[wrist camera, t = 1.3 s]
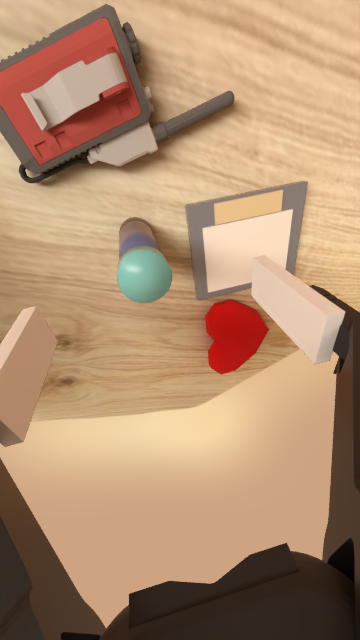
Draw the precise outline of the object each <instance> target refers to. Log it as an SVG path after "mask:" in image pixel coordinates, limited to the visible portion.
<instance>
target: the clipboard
mask: <svg viewBox="0 0 360 640" xmlns="http://www.w3.org/2000/svg"><path fill="white" fill-rule="evenodd" d="M307 183H308V182H307V181H301V182H296V183H291V184H286V185H281V186H276V187H271V188H266V189H261V190H256V191H251V192H246V193H241V194H236V195H231V196H227V197H222V198H217V199H212V200H207V201H202V202H197V203H192V204H187V205H185V208H186V216H187V224H188V233H189V241H190V249H191V258H192V266H193V274H194V282H195V291H196V298H197V300H198V301H199V300H203V299H207V298H212V297H216V296H220V295H224V294H228V293H232V292H237V291H241V290H245V289H249V288H252V264H253V257H258V256H262V255H265V256H267V257H268V258H269V259H271V260H272V261H274V262H275V263H277V264H278V265H279V266H281V267H282V268H284V269H285V270H287V271H288V272H289V273H291V274H292V275H294V269H295V262H296V255H297V249H298V242H299V236H300V229H301V222H302V216H303V209H304V202H305V196H306V189H307Z"/></svg>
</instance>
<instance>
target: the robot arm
mask: <svg viewBox="0 0 360 640" xmlns="http://www.w3.org/2000/svg"><path fill="white" fill-rule="evenodd" d="M251 296H252V297H253V298H254V299H255V300H256V302H257V303H258V304H259V305H260V306H261V307H262V308H263V309H264V310H265V311H266V312H267V313H268V315H269V316H270V317H271V318H272V319H273V320H274V321H275V322H276V323H277V324H278V325H279V327H280V328H281V329H282V330H283V331H284V332H285V333H286V334H287V335H288V336H289V337H290V338H291V340H292V341H293V342H294V343H295V344H296V345H297V346H298V347H299V348H300V349H301V350H302V351H303V352H304V354H305V355H306V356H307V357H308V358H309V359H310V360H311V361H312V362H313V363H314V365H315V364H319V363H322V362H326V361H330V359H331V355H332V352H333V351H334V352H335V353H337V355H338V356H339V359H338V362H337V365H336V367H335V370H334V374H336V373H337V377H336V396H335V414H334V431H333V450H332V467H331V487H330V503H329V519H328V525H327V529H326V533H325V538H324V547H323V559H322V560H320V559H318V558H315V557H313V556H310V555H307V554H304V553H299V552H293V551H290V549H289V547H288V545H287V543H285V544H282V545H279V546H276V547H273V548H270V549H267V550H264V551H260V552H257V553H255V554H251V555H249V556H248V557H247V558H245V559H244V560H243V561H241V562H240V563H239V564H238V565H236V566H235V567H234V568H233V569H232V570H230V571H229V572H228V573H227V574H225V575H224V576H223V577H222V578H220V579H219V580H218V581H216V582H215V583H212V584H206V583H191V582H176V581H168V582H165V583H162V584H159V585H155V586H152V587H149V588H146V589H143V590H140V591H137V592H134V593H131V594H129V605H128V606H127V607H126V608H124V609H123V610H122V611H121V612H120V613H119V614H118V615H117V616H116V618H115V619H114V620H113V621H112V622H111V624H110V625H109V626H108V627H107V629H106V628H105V626H104V625H103V623H102V621H101V620H100V618H99V617H98V616H97V614H96V613H95V612H94V611H93V609H91V607H89V605H88V604H87V603H85V602H84V600H83V599H82V597H81V596H80V594H79V593H78V591H77V589H76V587H75V586H74V584H73V582H72V581H71V579H70V577H69V575H68V574H67V572H66V570H65V569H64V567H63V565H62V563H61V562H60V560H59V558H58V557H57V555H56V553H55V551H54V550H53V548H52V546H51V544H50V543H49V541H48V539H47V538H46V536H45V534H44V533H43V531H42V529H41V527H40V526H39V524H38V522H37V521H36V519H35V517H34V515H33V514H32V512H31V510H30V508H29V507H28V505H27V503H26V501H25V500H24V498H23V496H22V495H21V493H20V491H19V489H18V488H17V486H16V485H15V483H14V481H13V479H12V477H11V476H10V474H9V473H8V471H7V469H6V467H5V466H4V464H3V462H2V460H1V459H0V640H360V313H359V312H358V311H356V310H355V309H353V308H352V307H350V306H349V305H347V304H346V303H344V302H343V301H341V300H340V299H337V297H335V296H334V295H331V293H329V292H328V291H326V290H325V289H323V288H320V287H317V286H314V285H312V286H308V285H307V284H305V283H304V282H302V281H301V280H299V279H298V278H297V277H295V276H294V275H292V274H291V273H289V272H288V271H287V270H285V269H284V268H282V267H281V266H279V265H278V264H277V263H275V262H274V261H272V260H271V259H269V258H268V257H267V256H265V255H262V256H258V257H253V264H252V292H251ZM57 343H58V341H57V339H56V338H55V336H54V334H53V333H52V331H51V329H50V328H49V326H48V324H47V323H46V321H45V319H44V318H43V316H42V314H41V313H40V311H39V309H38V308H37V306H34V307H30V308H25V309H23V310H22V311H21V313H20V314H19V316H18V318H17V319H16V321H15V322H14V324H13V325H12V327H11V329H10V330H9V332H8V333H7V335H6V336H5V338H4V339H3V341H2V343H1V344H0V443H1V444H2V445H3V446H5V447H6V446H10V445H13V444H17V443H21V442H24V439H25V436H26V433H27V430H28V428H29V425H30V422H31V419H32V416H33V413H34V410H35V407H36V404H37V401H38V398H39V395H40V393H41V390H42V387H43V384H44V381H45V378H46V375H47V372H48V369H49V366H50V363H51V360H52V357H53V355H54V352H55V349H56V346H57Z"/></svg>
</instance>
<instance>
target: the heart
mask: <svg viewBox="0 0 360 640" xmlns="http://www.w3.org/2000/svg"><path fill="white" fill-rule="evenodd" d="M205 317H206V329H207V333H208V335H209V336H210V337H211V338H212V339H214V342H213V344H212V345H211V347H210V349H209V350H208V358H209V365H210V367H211V368H212V369H214V370H215V371H217V372H218V373H220V374H225V373H228V372H231V371H235V370H236V369H238V368H239V367H240V366H241V365H242V364H243V363H244V362H246V361H247V360H248V359H249V358H250V357H251V356H252V355H254V354H255V353H256V351H257V350H258V348H259V346H260V344H261V343H262V341H263V339H264V337H265V336H266V334H267V332H268V330H269V329H268V328H267V326H266V325H265V323H264V322H263V320H262V318H261V317H260V315H259V314H258V312H257V311H256V310H254V309H252V308H250V307H247V306H245V305H242V304H240V303H238V302H235V301H233V300H226V301H222V302H218V303H214V305H213V306H212V307H211V309H210V310H209V312H208V313H207V315H206V316H205Z"/></svg>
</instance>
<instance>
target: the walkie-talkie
mask: <svg viewBox="0 0 360 640" xmlns="http://www.w3.org/2000/svg"><path fill="white" fill-rule="evenodd" d="M140 59H141V58H140V52H139V48H138V44H137V40H136V37H135V35H134V32H133V29H132V27H131V25H130V24H129V23H128V22H126V23H125V24H123V28H122V27H121V24H120V21H119V18H118V16H117V14H116V11H115V9H114V7H111V6H109V5H107V4H105V5H103V6H102V7H100V8H98V9H96V10H94V11H92V12H90V13H88V14H87V15H85V16H83V17H81V18H79V19H77V20H75V21H73V22H71V23H69V24H67V25H66V26H64V27H62V28H60V29H58V30H56V31H55V32H53V33H51V34H50V36H49V37H47V38H45V37H43V40H42V41H40V42H38V41H36V44H34V45H31V44H30V45H29V48H27V49H24V48H23V49H22V51H21V52H19V53H17V52H15V55H14V56H12V57H11V56H8V59H6V60H3V59H2V60H1V62H0V132H1V133H2V135H3V136H4V138H5V139H6V141H7V142H8V144H9V145H10V147H11V148H12V150H13V151H14V152H15V154H16V155H17V157H18V158H19V160H20V161H21V163H22V164H21V165H20V167H19V172H20V175H21V177H22V178H23V179H24V180H25V181H26V182H28V183H37V182H40V181H42V180H44V179H46V178H48V177H50V176H52V175H54V174H56V173H58V172H60V171H62V170H64V169H66V168H68V167H70V166H72V165H74V164H77V163H83V164H85V163H89V162H90V164H93V163H95V162H97V161H102V162H105V163H109V164H112V165H115V166H119V167H120V166H122V165H124V164H126V163H129V162H131V161H133V160H135V159H137V158H139V157H141V156H143V155H145V154H147V153H149V154H152V153H154V152H156V151H158V147H157V144H158V143H160V142H162V141H164V140H166V139H168V136H170V135H172V134H174V133H176V132H178V131H180V130H182V129H184V128H186V127H189V126H191V125H193V124H195V123H197V122H199V121H201V120H203V119H205V118H207V117H209V116H211V115H213V114H215V113H217V112H219V111H221V110H223V109H225V108H227V107H229V106H231V105H232V104H233V102H234V94H233V93H232V92H231V91H227V92H225V93H223V94H221V95H219V96H217V97H215V98H213V99H211V100H209V101H207V102H205V103H203V104H201V105H199V106H197V107H195V108H193V109H191V110H189V111H187V112H185V113H183V114H181V115H179V116H177V117H175V118H173V119H171V120H169V121H167V122H165V123H163V122H160V123H158V124H156V125H154V126H152V127H150V125H149V122H148V119H149V117H150V115H151V113H153V112H154V108H153V105H152V102H151V101H148V100H150V99H152V95H151V92H150V89H149V87H148V86H146V87H143V86H142V85H141V82H140V79H139V76H138V73H137V70H136V67H135V64H137V63H139V62H140ZM134 63H135V64H134ZM84 152H89V154H90V155H88V156H86V157H87V158H85V159H84V158H77V157H78V155H83V153H84ZM73 158H75V159H73ZM68 160H70V161H68ZM62 163H64V164H62ZM57 166H58V167H57ZM53 168H54V169H53ZM25 169H27V170H29V171H32V172H35V173H38V174H42V175H40V176H38V177H35V178H30V177H28V176H27V174H26V172H25ZM47 171H48V172H47ZM43 173H44V174H43Z"/></svg>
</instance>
